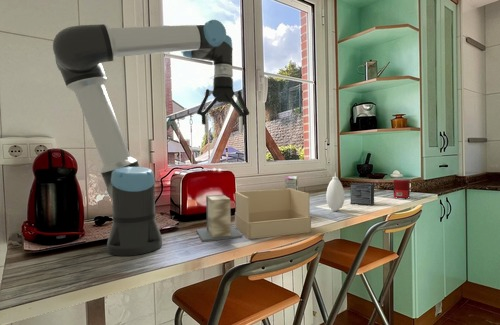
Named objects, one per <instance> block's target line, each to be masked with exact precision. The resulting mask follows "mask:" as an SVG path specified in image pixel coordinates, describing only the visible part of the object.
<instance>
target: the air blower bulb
mask: <svg viewBox="0 0 500 325" xmlns="http://www.w3.org/2000/svg"><path fill="white" fill-rule="evenodd" d="M336 173H337V172H336V171H334V176H332V178H331V180H330V181H329V183H328V185H327V189H326V195H325V197H326V198H325V199H326V203H327V207H328V208H330V209H331V210H332V211H333V212H338V211H339V210H340V209H342V208H343V206H344V203H345V197H346V196H345V189H344V187H343V184H342V182H341V181H340V179H339V177H338V176H337V174H336Z"/></svg>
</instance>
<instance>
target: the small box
mask: <svg viewBox="0 0 500 325" xmlns="http://www.w3.org/2000/svg"><path fill="white" fill-rule="evenodd" d="M355 204H358V205H359V206H368V205H372V206H373V205H375V183H367V182H365V183H364V182H362V183H360V182H352V183H350V205H355Z"/></svg>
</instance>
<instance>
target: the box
mask: <svg viewBox="0 0 500 325" xmlns="http://www.w3.org/2000/svg"><path fill="white" fill-rule="evenodd" d="M205 198H206V199H205V200H206V202H205V203H206V206H205V207H206V208H205V209H206V228H207V231H208V232H209V233H210V235H211V236H212V238H213V237H223V236H231V226H232V224H231V222H232V221H231V220H232V219H231V198H230V197H228V196H226V195H224V194H211V195H209V194H208V195H206V196H205Z"/></svg>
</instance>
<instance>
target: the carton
mask: <svg viewBox="0 0 500 325" xmlns="http://www.w3.org/2000/svg"><path fill="white" fill-rule="evenodd" d="M234 195H235V213H234V226H235V227H234V228H235V229H236V230H237V231H238V232H239V233H240V234H241V235H242V236H244V237H245V238H247V239H248V240H250V239H251V240H252V239H261V238H272V237H280V236H281V237H282V236H289V235H298V234H299V235H300V234H305V233H306V234H308V233H312V217H311V216H310V215H311V214H310V213H311V212H310V211H311V209H310V208H311V206H310V204H311V203H310V193H308V192H304V191H301V190H299V189H298V190H294V189H286V188H281V189H280V188H278V189H276V188H275V189H261V190H245V191H244V190H243V191H235V194H234Z"/></svg>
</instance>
